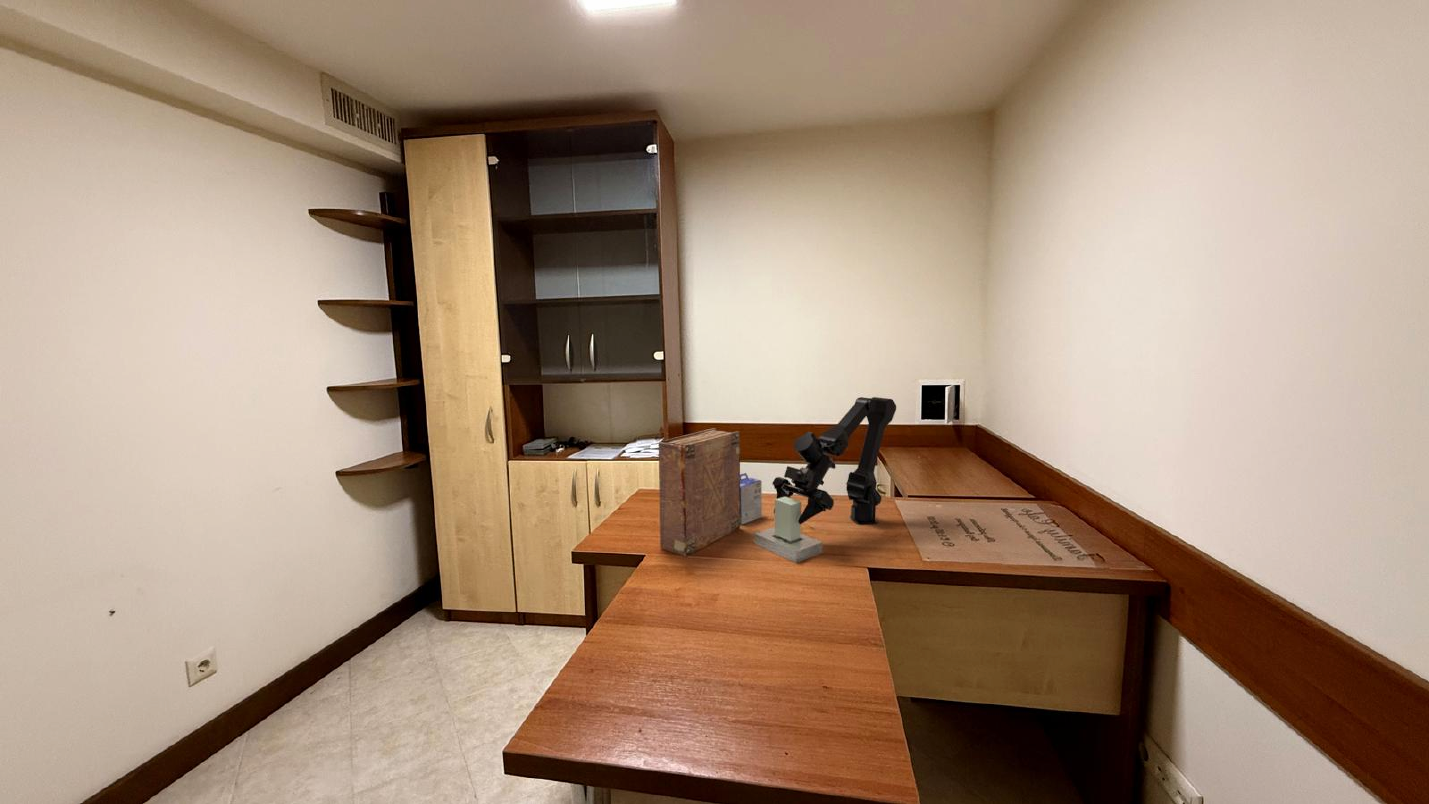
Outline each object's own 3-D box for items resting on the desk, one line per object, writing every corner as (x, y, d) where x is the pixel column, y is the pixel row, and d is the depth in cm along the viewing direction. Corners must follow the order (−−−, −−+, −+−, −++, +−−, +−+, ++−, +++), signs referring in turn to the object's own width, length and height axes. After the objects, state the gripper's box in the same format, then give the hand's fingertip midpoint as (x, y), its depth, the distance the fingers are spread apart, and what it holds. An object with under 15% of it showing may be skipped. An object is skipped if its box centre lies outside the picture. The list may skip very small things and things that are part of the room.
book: (715, 522, 165) (715, 427, 161) (740, 528, 160) (740, 431, 156) (660, 549, 145) (658, 441, 141) (685, 557, 140) (684, 446, 136)
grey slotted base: (779, 534, 155) (779, 525, 154) (821, 552, 142) (822, 542, 142) (754, 543, 149) (754, 533, 148) (796, 563, 136) (796, 551, 136)
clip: (784, 542, 149) (785, 496, 147) (800, 549, 144) (801, 502, 142) (774, 546, 146) (774, 499, 145) (790, 553, 142) (790, 505, 140)
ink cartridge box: (749, 513, 173) (750, 470, 171) (762, 517, 169) (763, 473, 167) (728, 520, 166) (728, 476, 164) (741, 525, 162) (741, 479, 160)
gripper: (777, 449, 152) (748, 494, 147) (827, 461, 138) (797, 512, 132) (795, 471, 158) (768, 515, 153) (846, 485, 144) (818, 534, 138)
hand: (786, 518), depth 144 cm, fingers open, 9 cm apart
